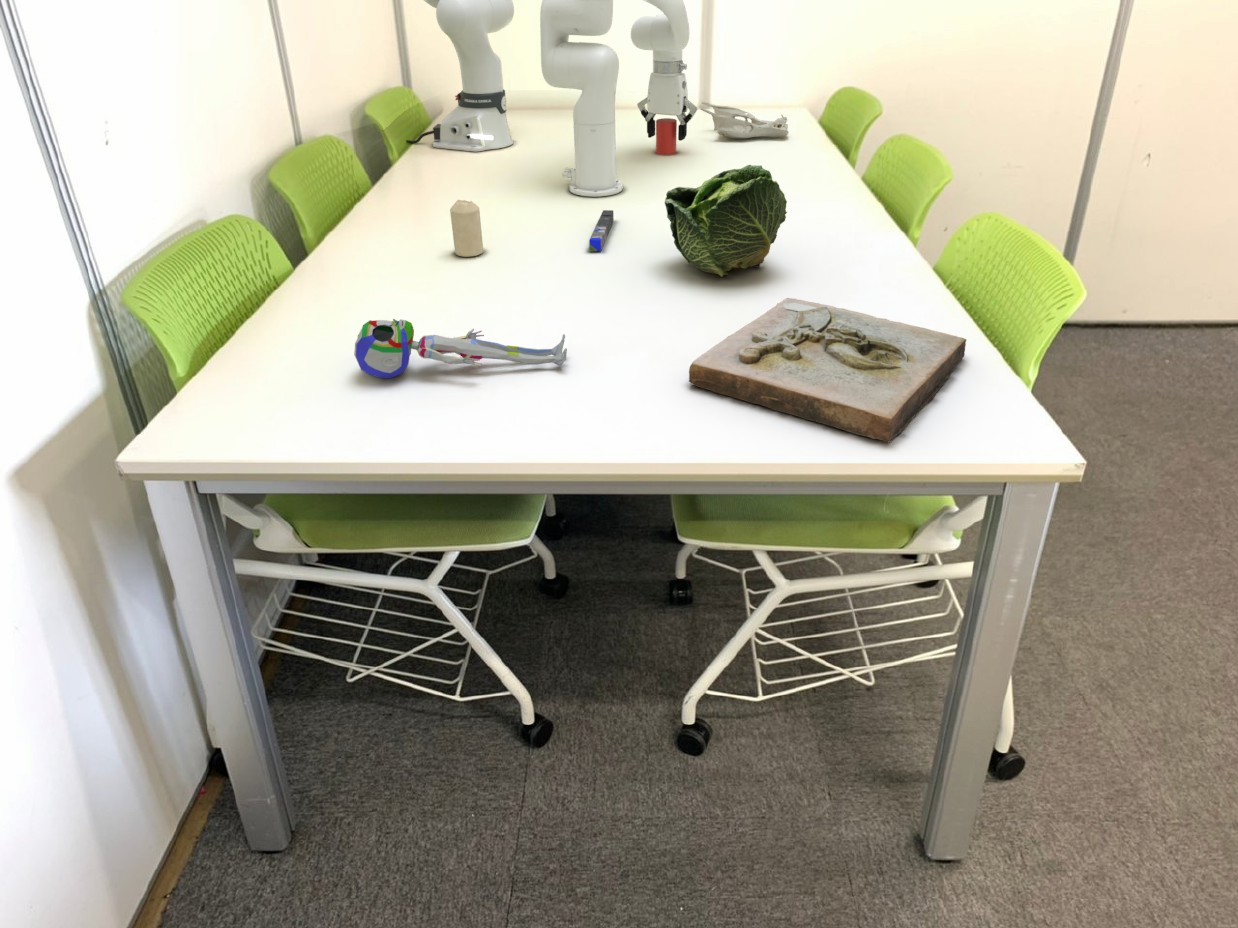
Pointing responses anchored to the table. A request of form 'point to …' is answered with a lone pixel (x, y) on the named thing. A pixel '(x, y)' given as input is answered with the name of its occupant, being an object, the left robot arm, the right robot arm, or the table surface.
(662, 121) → the canister
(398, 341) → the toy
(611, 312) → the table surface
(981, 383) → the table surface
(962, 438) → the table surface
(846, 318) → the plaque
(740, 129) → the anatomical model
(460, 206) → the candle
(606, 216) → the pillar
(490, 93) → the left robot arm
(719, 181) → the vegetable
